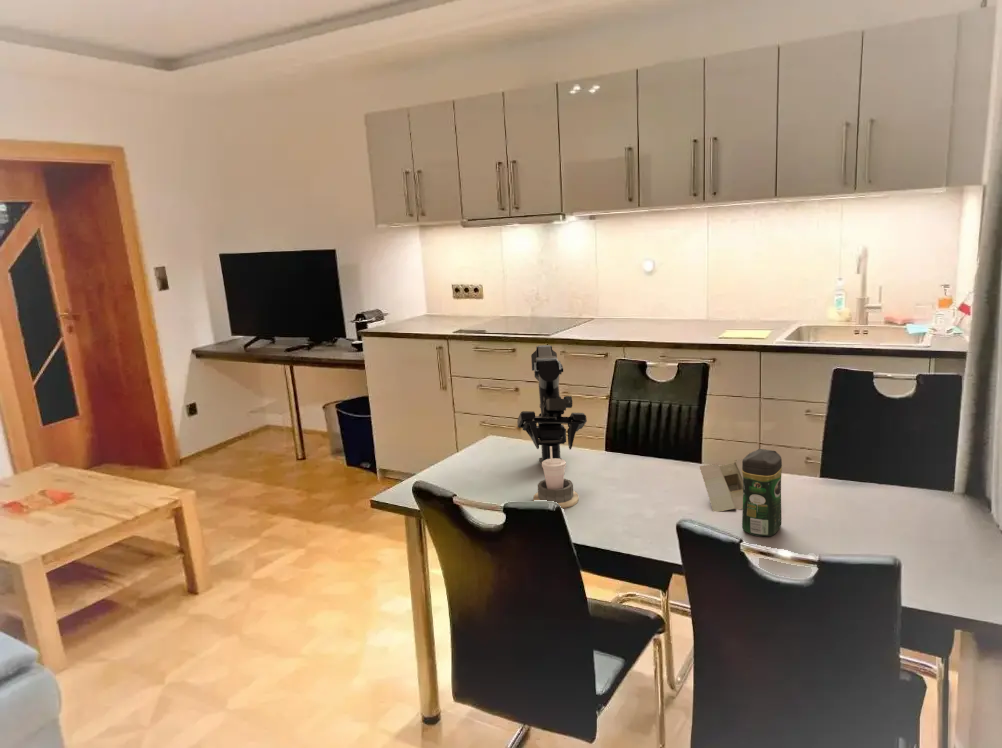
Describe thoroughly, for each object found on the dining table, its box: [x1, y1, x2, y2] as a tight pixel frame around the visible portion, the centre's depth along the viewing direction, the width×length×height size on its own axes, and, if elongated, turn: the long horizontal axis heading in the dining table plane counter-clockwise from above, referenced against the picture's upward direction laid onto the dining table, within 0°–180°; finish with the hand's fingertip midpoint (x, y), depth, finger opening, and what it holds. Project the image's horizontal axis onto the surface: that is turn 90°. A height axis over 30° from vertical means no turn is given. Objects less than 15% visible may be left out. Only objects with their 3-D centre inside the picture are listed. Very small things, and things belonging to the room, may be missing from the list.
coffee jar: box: [741, 448, 783, 537], centre depth 163 cm, size 10×8×19 cm
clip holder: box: [532, 478, 580, 509], centre depth 189 cm, size 12×12×4 cm
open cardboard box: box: [699, 458, 744, 513], centre depth 183 cm, size 16×9×15 cm
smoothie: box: [541, 446, 567, 490], centre depth 188 cm, size 6×6×14 cm
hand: (554, 448), depth 195 cm, fingers open, 9 cm apart
